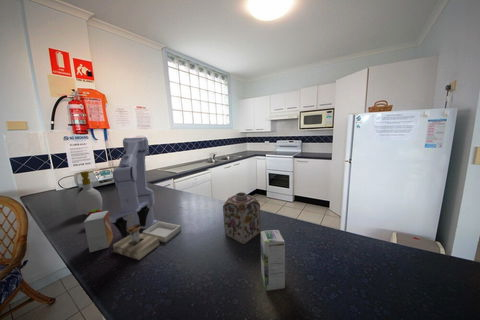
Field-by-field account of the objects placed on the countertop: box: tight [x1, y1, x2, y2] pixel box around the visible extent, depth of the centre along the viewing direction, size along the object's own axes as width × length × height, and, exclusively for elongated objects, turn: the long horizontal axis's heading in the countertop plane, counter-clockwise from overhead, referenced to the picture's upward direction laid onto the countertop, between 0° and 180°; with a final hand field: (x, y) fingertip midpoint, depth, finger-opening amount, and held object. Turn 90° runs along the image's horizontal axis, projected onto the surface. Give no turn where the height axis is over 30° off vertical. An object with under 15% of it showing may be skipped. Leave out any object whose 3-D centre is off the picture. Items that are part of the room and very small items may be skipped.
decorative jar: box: [222, 191, 262, 245], centre depth 73 cm, size 12×12×18 cm
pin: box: [127, 224, 142, 246], centre depth 67 cm, size 4×4×9 cm
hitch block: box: [112, 232, 160, 261], centre depth 68 cm, size 14×9×3 cm, turn 68°
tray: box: [141, 220, 182, 243], centre depth 77 cm, size 13×9×2 cm
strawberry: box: [87, 207, 104, 218], centre depth 88 cm, size 6×8×10 cm
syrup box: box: [260, 229, 286, 292], centre depth 48 cm, size 6×6×14 cm
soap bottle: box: [76, 170, 103, 216], centre depth 101 cm, size 14×9×26 cm, turn 79°
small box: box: [83, 210, 114, 253], centre depth 70 cm, size 8×6×13 cm
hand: (134, 230), depth 67 cm, fingers open, 7 cm apart
